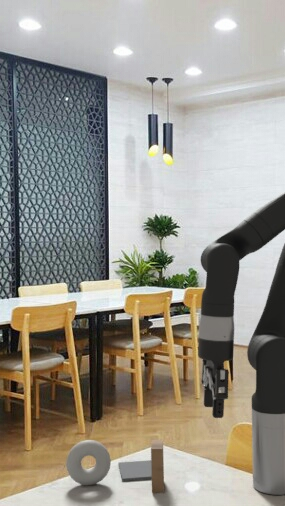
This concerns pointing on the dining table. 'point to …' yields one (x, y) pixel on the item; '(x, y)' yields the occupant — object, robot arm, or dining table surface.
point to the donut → (88, 475)
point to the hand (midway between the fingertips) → (213, 411)
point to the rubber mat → (135, 470)
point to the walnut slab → (157, 466)
